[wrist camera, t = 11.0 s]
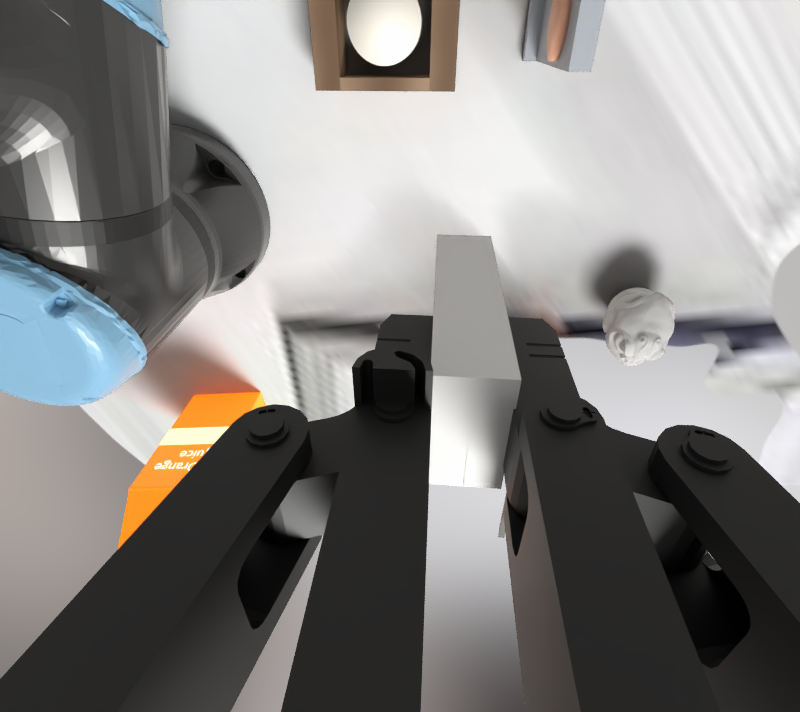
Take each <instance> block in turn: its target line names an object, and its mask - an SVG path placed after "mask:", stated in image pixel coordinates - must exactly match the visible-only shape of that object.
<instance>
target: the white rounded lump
mask: <svg viewBox="0 0 800 712" xmlns="http://www.w3.org/2000/svg"><path fill="white" fill-rule="evenodd" d="M674 310H675V307H674V304H673V302H672V301H671V300H670V299H669V298H668V297H665V296H664V295H663V294H662V293H659V292H656V293H655V292H653V291H651V290H649V289H645V288H630V289H626V290H624V291H622V292H620V293H619V294H617V295H616V296H615V297H614V298H613V299H612V300H611V302H610V304H609V306H608V309H607V311H606V312H605V318H604V320H603V330H604V331H605V332H606V333H607V334H606V336H605V340H606V344H607V347H608V348H609V350H610V351H611V353H612V354H613V355H614V356H615V357H616V358H617V360H619V361H620V362H621V363H622V364H625V365H629V366H634V365H638V364H639V363H642V362H644V360H656V359H658V358H660V357H661V355H663V353H664V348H665V347H666V345H667V343H668V339H669V338H670V337H671V335H672V333H673V331H674V326H675V325H674V319H675V313H674Z"/></svg>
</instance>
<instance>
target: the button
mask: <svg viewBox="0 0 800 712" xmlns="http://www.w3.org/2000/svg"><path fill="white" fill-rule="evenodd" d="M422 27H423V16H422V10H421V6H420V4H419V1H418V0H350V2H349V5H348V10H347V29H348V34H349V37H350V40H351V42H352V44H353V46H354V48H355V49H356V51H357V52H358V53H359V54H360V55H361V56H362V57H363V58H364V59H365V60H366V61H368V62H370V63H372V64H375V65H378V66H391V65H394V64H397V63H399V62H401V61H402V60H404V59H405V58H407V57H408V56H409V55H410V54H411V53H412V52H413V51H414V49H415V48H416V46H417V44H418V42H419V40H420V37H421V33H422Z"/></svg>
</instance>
